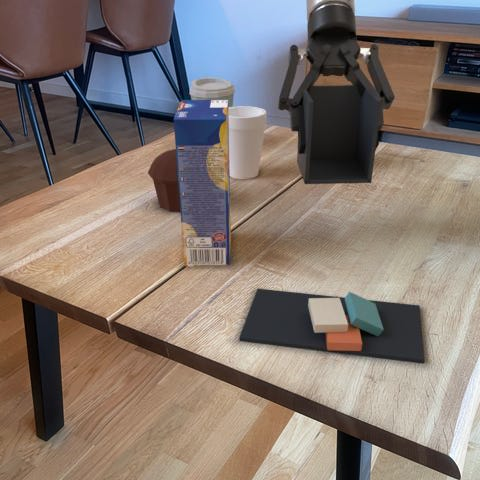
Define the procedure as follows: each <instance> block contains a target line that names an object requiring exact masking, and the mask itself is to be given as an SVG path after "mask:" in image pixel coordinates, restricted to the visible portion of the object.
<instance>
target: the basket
mask: <svg viewBox="0 0 480 480" xmlns="http://www.w3.org/2000/svg"><path fill="white" fill-rule="evenodd" d="M381 102H382V101H381V100H380V99H379V98H378V97H377V96H376V95H375V94H374V93H373V92H372V91H371V90H370V89H366V90H365V92H364V95H363V97H361V96H360V94H359V92H358V88H357V86H356V85H353V84H341V85H340V84H339V85H336V84H335V85H313V86H311V89H310V91H309V93H308V91H307V90H303V99H302V104H301V105H304V119H305V139H306V146H305V150H304V154H299V149H298V148H297V156H296V163H297V165H298V168H299V169H298V170H299V171H300V174H301V177H302V180H303V183H304V185H333V184H334V185H335V184H337V185H338V184H339V185H341V184H372V179H373V173H374V164H375V158H376V157H375V155H376V151H375V149H376V141H377V133H378V134H379V130H378V125H379V118H380V110H381ZM376 150H377V149H376Z"/></svg>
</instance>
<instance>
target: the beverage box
mask: <svg viewBox="0 0 480 480" xmlns="http://www.w3.org/2000/svg"><path fill="white" fill-rule="evenodd" d="M173 129H174V131H173V132H174V142H175V143H174V144H175V149H176V158H177V171H178V185H179V198H180V212H179V213H180V223H181V224H180V225H181V237H182V251H183V265H184V268H185V267H190V268H191V267H192V268H193V267H194V266H204V265H205V266H217V265H218V266H221V265H222V266H225V265H226V266H227V265H228V266H229V265H230V260H231V239H232V229H231V228H232V226H231V225H232V224H231V222H232V221H231V179H230V178H231V177H230V168H229V119H228V100H192V99H181V100H180V103H179V105H178V107H177V110H176V112H175V115H174V117H173Z"/></svg>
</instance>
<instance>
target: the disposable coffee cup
mask: <svg viewBox="0 0 480 480" xmlns="http://www.w3.org/2000/svg"><path fill="white" fill-rule="evenodd" d="M235 92H236V89H235V86H234V84H233V82H232V81H229V80H228V79H225V78H220V77H209V76H208V77H207V76H206V77H201V78H200V77H199V78H196V79H194V80H191V85H190V87H189V95H190V96H191V100H228V108H229V107H234V106H233V105H234V96H235Z"/></svg>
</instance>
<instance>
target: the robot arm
mask: <svg viewBox="0 0 480 480" xmlns="http://www.w3.org/2000/svg"><path fill="white" fill-rule="evenodd" d="M305 2H306V20H307V25H306V26H307V46H306V47H303V48H302V47H300V48H299V47H298V45H297V44H291V45H290V47H289V53H288V67H287V70H286V73H285V77H284V80H283V83H282V86H281V90H280V93H279V97H278V103H277V108H278V110H279V111H284V110H285V111H287V112H289V113H288V114H289V119H290V120H289V121H290V130H291V132H297V150H298V149H299V154H304V150H305V146H306V139H305V119H304V105H301V104H302V99H303V90H307V91H308V93H309V91H310V89H311V86H315V83H317V82H318V79H319V78H320V77H321V75H322V77H330V76H335V77H343V76H344V78H345V79H346V80H347V81H348V82H350V83H351V85H356V86H357V88H358V92H359V94H360V96H361V97H363V95H364V92H365V90H366V89H370V90H371V91H372V92H373V93H374V94H375V95H376V96H377V97H378V98H379V99H380V100H381V101H382V102H381V110H380V118H379V125H378V131H381V130H382V128H383V126H384V123H385V120H384V110H389V109H390V108H391V106H392V104H393V102H394V100H395V98H396V97H395V94H394V91H393V89H392V87H391V84H390V82H389V79H388V77H387V75H386V72H385V70H384V67H383V65H382V62H381V60H380V58H379V46H378V45H377V44H375V43H373V44H371V45H370V47H361V46H360V44H359V43H358V40H357V39H358V38H357V37H358V36H357V21H356V9H355V8H356V7H355V0H306V1H305ZM305 58H306V60H307V61H308V62H309V63H310V64H311V67H310V70H309V71H308V72H307V74H306V76H305V77H304V79H303V80H302V82H301V84H300V85H299V87H298V88H297V91H296V92H295V94H294V96H293V97H292V98H290V94H291V92H292V87H293V85H294V81H295V78H296V74H297V71H298V66H300V64H302V63H303V60H304V59H305ZM359 58H360V59H361V60H362V61H363V64H364V65H366V68H367V73H368V74H369V77H370V80H371V81H372V83H371V81H370V80H369V78H368V77H367V76H366V74H365V73H364V71H363V70H362V69H361V66H360V63H359V62H358V59H359ZM379 139H380V138H379V132H378V133H377V141H376V149H375V152H376V150H377V149H378V147H379V146H380V140H379Z"/></svg>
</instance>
